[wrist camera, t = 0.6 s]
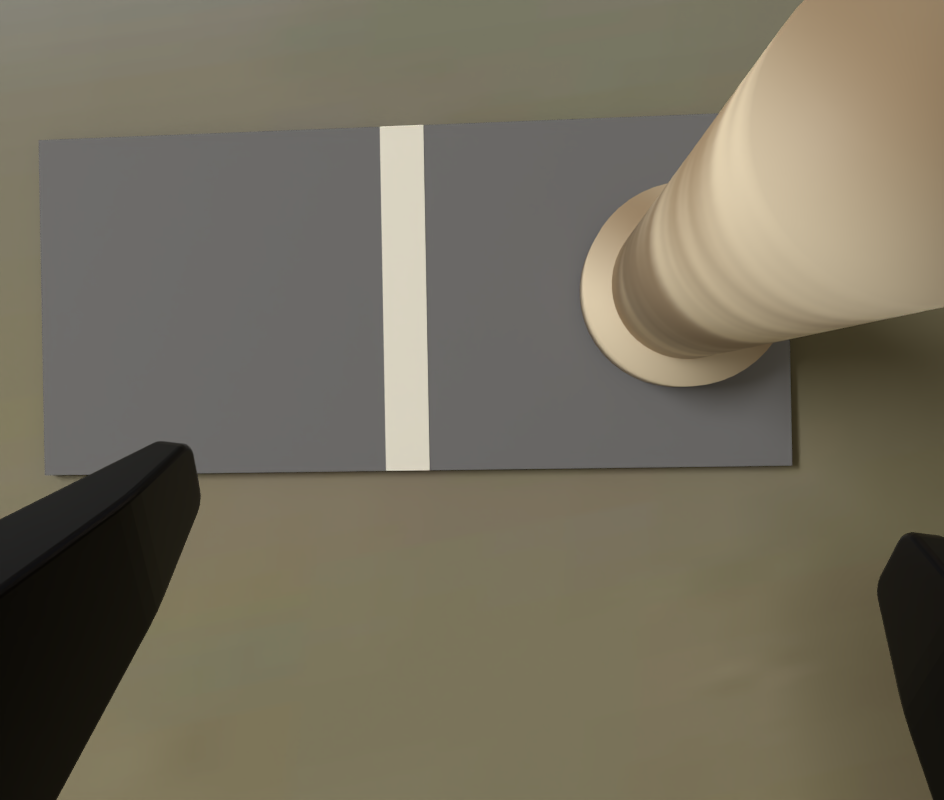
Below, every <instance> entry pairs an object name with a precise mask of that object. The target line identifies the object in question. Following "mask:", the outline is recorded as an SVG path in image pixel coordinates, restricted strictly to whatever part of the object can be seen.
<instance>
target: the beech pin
mask: <svg viewBox="0 0 944 800" xmlns="http://www.w3.org/2000/svg"><path fill="white" fill-rule="evenodd" d="M580 304H581V311H582V315H583V319H584V322H585V325H586V327H587V330H588V332H589V334H590V336H591V338H592V339H593V341H594V343H595V345H596V346H597V347H598V348H599V350H600V351H601V352H602V354H603V355H604V356H605V357H606V358H607V359H608V360H609V361H610V362H611V363H612V364H614V365H615V366H616V367H617V368H619V369H620V370H621V371H623V372H625V373H626V374H628V375H630V376H632V377H634V378H636V379H638V380H641V381H643V382H646V383H650V384H654V385H659V386H666V387H689V386H700V385H707V384H711V383H715V382H719V381H722V380H725V379H727V378H729V377H732V376H734V375H736V374H738V373H739V372H741V371H743V370H745V369H746V368H748V367H749V366H750V365H752V364H753V363H754V362H756V361H757V360H758V359H759V358H760V357H761V356H762V355H763V354H764V353H765V352H766V351H767V350H768V348H769V347H770V346H771V344H772V343H774V342H779V341H784V340H789V339H794V338H798V337H803V336H808V335H813V334H817V333H822V332H827V331H832V330H837V329H841V328H846V327H851V326H856V325H861V324H865V323H870V322H875V321H880V320H884V319H889V318H894V317H899V316H904V315H908V314H913V313H918V312H923V311H927V310H932V309H937V308H942V307H944V0H804V1H803V2H802V3H801V4H800V5H799V6H798V7H797V8H796V10H795V11H794V12H793V14H792V15H791V16H790V17H789V19H788V20H787V21H786V23H785V24H784V25H783V26H782V28H781V29H780V31H779V32H778V33H777V35H776V36H775V37H774V39H773V40H772V41H771V43H770V44H769V46H768V47H767V48H766V50H765V51H764V52H763V54H762V55H761V57H760V58H759V59H758V61H757V62H756V63H755V65H754V66H753V67H752V69H751V70H750V72H749V73H748V74H747V76H746V77H745V78H744V80H743V81H742V83H741V84H740V85H739V87H738V88H737V89H736V91H735V92H734V93H733V95H732V96H731V98H730V99H729V100H728V102H727V103H726V104H725V106H724V107H723V108H722V110H721V111H720V113H719V114H718V115H717V117H716V118H715V119H714V121H713V122H712V124H711V125H710V126H709V128H708V129H707V130H706V132H705V133H704V134H703V136H702V137H701V139H700V140H699V141H698V143H697V144H696V145H695V147H694V148H693V150H692V151H691V152H690V154H689V155H688V156H687V158H686V159H685V160H684V162H683V163H682V165H681V166H680V167H679V169H678V170H677V171H676V173H675V174H674V176H673V177H672V178H671V180H670V181H669V182H668V183H667V184H663V185H660V186H656V187H653V188H651V189H648V190H646V191H644V192H641V193H640V194H638V195H636V196H635V197H633V198H631V199H630V200H628V201H627V202H626V203H624V204H623V205H622V206H621V207H619V208H618V209H617V210H616V211H615V212H614V213H613V214H612V215H611V216H610V217H609V219H608V220H607V221H606V223H605V224H604V225H603V227H602V228H601V230H600V231H599V233H598V235H597V237H596V238H595V240H594V242H593V244H592V246H591V248H590V250H589V252H588V254H587V257H586V259H585V262H584V265H583V269H582V273H581V280H580Z"/></svg>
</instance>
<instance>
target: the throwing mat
mask: <svg viewBox="0 0 944 800" xmlns="http://www.w3.org/2000/svg"><path fill="white" fill-rule="evenodd" d="M717 115H718V114H694V115H669V116H644V117H618V118H593V119H567V120H542V121H516V122H491V123H466V124H440V125H409V126H383V127H364V128H338V129H313V130H288V131H262V132H237V133H211V134H186V135H160V136H135V137H109V138H84V139H59V140H39V184H40V237H41V291H42V344H43V397H44V451H45V475H90V474H92V473H94V472H96V471H98V470H100V469H102V468H104V467H106V466H108V465H110V464H112V463H114V462H116V461H118V460H120V459H122V458H124V457H126V456H128V455H130V454H132V453H134V452H136V451H138V450H140V449H142V448H144V447H146V446H148V445H150V444H152V443H154V442H157V441H167V442H175V443H183V444H187V445H188V446H190V447H191V449H192V451H193V454H194V458H195V464H196V470H197V473H253V472H331V471H412V470H485V469H562V468H639V467H716V466H792V430H791V375H790V339H789V340H784V341H779V342H774V343H772V344H771V346H770V347H769V348H768V350H767V351H766V352H765V353H764V354H763V355H762V356H761V357H760V358H759V359H758V360H757V361H756V362H754V363H753V364H752V365H750V366H749V367H748V368H746V369H745V370H743V371H741V372H739V373H738V374H736V375H734V376H732V377H729V378H727V379H725V380H722V381H719V382H715V383H711V384H707V385H700V386H689V387H666V386H659V385H654V384H650V383H646V382H643V381H641V380H638V379H636V378H634V377H632V376H630V375H628V374H626V373H625V372H623V371H621V370H620V369H619V368H617V367H616V366H615V365H614V364H612V363H611V362H610V361H609V360H608V359H607V358H606V357H605V356H604V355H603V354H602V352H601V351H600V350H599V348H598V347H597V346H596V345H595V343H594V341H593V339H592V338H591V336H590V334H589V332H588V330H587V327H586V325H585V322H584V319H583V315H582V311H581V304H580V280H581V273H582V269H583V265H584V262H585V259H586V257H587V254H588V252H589V250H590V248H591V246H592V244H593V242H594V240H595V238H596V237H597V235H598V233H599V231H600V230H601V228H602V227H603V225H604V224H605V223H606V221H607V220H608V219H609V217H610V216H611V215H612V214H613V213H614V212H615V211H616V210H617V209H618V208H619V207H621V206H622V205H623V204H624V203H626V202H627V201H628V200H630V199H631V198H633V197H635V196H636V195H638V194H640V193H641V192H644V191H646V190H648V189H651V188H653V187H656V186H660V185H663V184H667V183H668V182H669V181H670V180H671V178H672V177H673V176H674V174H675V173H676V171H677V170H678V169H679V167H680V166H681V165H682V163H683V162H684V160H685V159H686V158H687V156H688V155H689V154H690V152H691V151H692V150H693V148H694V147H695V145H696V144H697V143H698V141H699V140H700V139H701V137H702V136H703V134H704V133H705V132H706V130H707V129H708V128H709V126H710V125H711V124H712V122H713V121H714V119H715V118H716V117H717Z"/></svg>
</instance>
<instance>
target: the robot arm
mask: <svg viewBox="0 0 944 800" xmlns="http://www.w3.org/2000/svg"><path fill="white" fill-rule="evenodd" d="M200 497H201V495H200V487H199V481H198V476H197V470H196V464H195V458H194V454H193V451H192V449H191V447H190V446H188V445H187V444H183V443H175V442H167V441H157V442H154V443H152V444H150V445H148V446H146V447H144V448H142V449H140V450H138V451H136V452H134V453H132V454H130V455H128V456H126V457H124V458H122V459H120V460H118V461H116V462H114V463H112V464H110V465H108V466H106V467H104V468H102V469H100V470H98V471H96V472H94V473H92V474H90V475H88V476H86V477H84V478H82V479H80V480H78V481H76V482H74V483H72V484H70V485H68V486H66V487H64V488H62V489H60V490H58V491H56V492H54V493H52V494H50V495H48V496H46V497H44V498H42V499H40V500H38V501H36V502H34V503H32V504H30V505H28V506H26V507H24V508H22V509H20V510H18V511H16V512H14V513H12V514H10V515H8V516H6V517H4V518H2V519H0V800H56V799H57V798H58V796H59V794H60V792H61V790H62V788H63V786H64V785H65V783H66V781H67V779H68V777H69V775H70V774H71V772H72V770H73V768H74V766H75V764H76V762H77V761H78V759H79V757H80V755H81V753H82V751H83V749H84V748H85V746H86V744H87V742H88V740H89V738H90V736H91V735H92V733H93V731H94V729H95V727H96V725H97V723H98V722H99V720H100V718H101V716H102V714H103V712H104V711H105V709H106V707H107V705H108V703H109V701H110V699H111V698H112V696H113V694H114V692H115V690H116V688H117V686H118V685H119V683H120V681H121V679H122V677H123V675H124V673H125V672H126V670H127V668H128V666H129V664H130V662H131V660H132V659H133V657H134V655H135V653H136V651H137V649H138V648H139V646H140V644H141V642H142V640H143V638H144V636H145V635H146V633H147V631H148V629H149V627H150V625H151V623H152V621H153V619H154V617H155V615H156V613H157V611H158V609H159V607H160V604H161V602H162V600H163V597H164V595H165V593H166V590H167V588H168V585H169V583H170V580H171V578H172V575H173V573H174V570H175V568H176V565H177V563H178V560H179V558H180V555H181V553H182V550H183V548H184V545H185V543H186V540H187V538H188V535H189V533H190V530H191V528H192V525H193V523H194V520H195V518H196V515H197V513H198V510H199V506H200ZM877 596H878V602H879V606H880V611H881V615H882V620H883V624H884V629H885V633H886V638H887V642H888V647H889V651H890V656H891V660H892V665H893V669H894V674H895V678H896V683H897V687H898V692H899V696H900V700H901V704H902V707H903V711H904V715H905V718H906V721H907V724H908V727H909V731H910V734H911V737H912V740H913V742H914V745H915V748H916V751H917V754H918V757H919V760H920V763H921V766H922V769H923V772H924V775H925V777H926V780H927V783H928V786H929V789H930V792H931V795H932V798H933V800H944V537H942V536H938V535H931V534H923V533H915V532H911V533H907V534H905V535H903V536H902V537H901V538H900V540H899V541H898V543H897V545H896V547H895V549H894V551H893V553H892V555H891V557H890V559H889V561H888V563H887V564H886V566H885V568H884V570H883V572H882V574H881V576H880V579H879V582H878V588H877Z"/></svg>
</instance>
